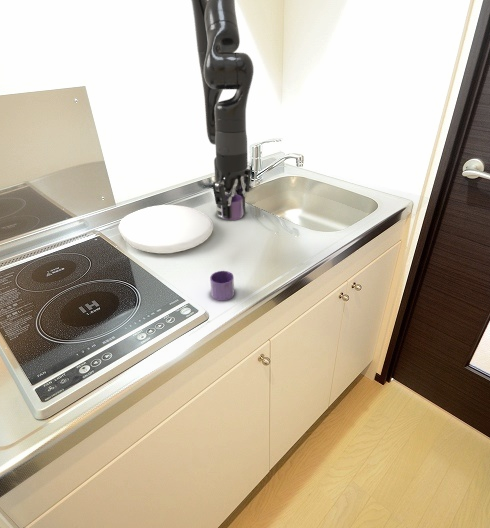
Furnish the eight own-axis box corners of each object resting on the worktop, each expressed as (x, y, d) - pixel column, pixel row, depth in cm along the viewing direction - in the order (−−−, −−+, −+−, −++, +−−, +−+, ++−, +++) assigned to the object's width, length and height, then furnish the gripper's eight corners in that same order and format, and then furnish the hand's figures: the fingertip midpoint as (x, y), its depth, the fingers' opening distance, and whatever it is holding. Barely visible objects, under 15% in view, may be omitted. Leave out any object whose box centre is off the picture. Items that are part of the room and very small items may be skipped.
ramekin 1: (231, 209, 100) (230, 192, 97) (246, 214, 97) (246, 197, 95) (217, 216, 96) (216, 198, 93) (233, 222, 94) (232, 204, 91)
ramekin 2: (222, 284, 93) (221, 268, 90) (238, 292, 90) (238, 276, 88) (206, 295, 89) (205, 278, 87) (223, 303, 87) (222, 286, 84)
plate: (228, 216, 116) (173, 253, 97) (227, 233, 120) (174, 272, 100) (160, 190, 125) (96, 219, 106) (161, 207, 129) (100, 239, 109)
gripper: (235, 140, 94) (236, 201, 103) (200, 153, 83) (205, 220, 92) (260, 144, 91) (259, 207, 100) (227, 159, 80) (230, 227, 89)
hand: (233, 213), depth 96 cm, fingers closed on ramekin 1, 5 cm apart
